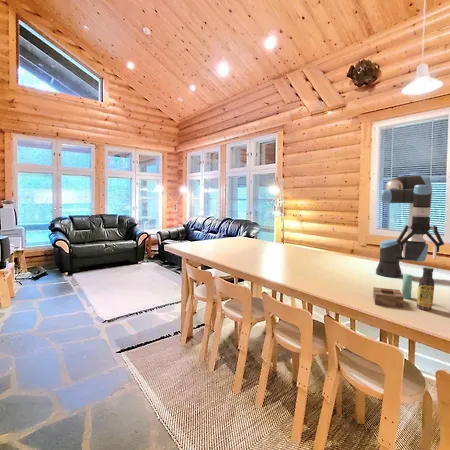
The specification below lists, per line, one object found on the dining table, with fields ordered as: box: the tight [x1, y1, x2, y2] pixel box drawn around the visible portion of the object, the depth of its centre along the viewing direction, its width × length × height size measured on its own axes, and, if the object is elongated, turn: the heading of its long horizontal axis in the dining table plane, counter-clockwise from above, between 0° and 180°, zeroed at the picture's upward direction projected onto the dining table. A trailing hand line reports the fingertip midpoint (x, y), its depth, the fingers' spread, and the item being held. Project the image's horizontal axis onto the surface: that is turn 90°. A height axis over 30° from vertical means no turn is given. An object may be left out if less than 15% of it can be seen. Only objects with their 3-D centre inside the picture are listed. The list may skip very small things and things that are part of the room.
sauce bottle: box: [416, 266, 435, 311], centre depth 143 cm, size 7×6×20 cm
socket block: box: [372, 287, 405, 308], centre depth 153 cm, size 12×12×5 cm
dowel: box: [401, 273, 413, 300], centre depth 158 cm, size 4×4×12 cm
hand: (418, 257), depth 154 cm, fingers open, 13 cm apart
